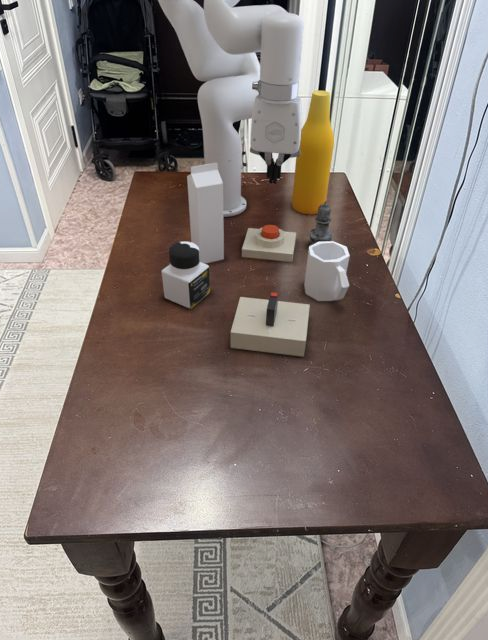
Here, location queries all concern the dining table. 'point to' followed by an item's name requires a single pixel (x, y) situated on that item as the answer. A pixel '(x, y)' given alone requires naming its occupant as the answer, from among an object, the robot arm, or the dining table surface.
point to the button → (270, 231)
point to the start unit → (269, 245)
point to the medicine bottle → (185, 275)
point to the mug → (327, 271)
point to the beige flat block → (270, 327)
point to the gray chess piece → (321, 225)
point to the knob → (272, 309)
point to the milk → (206, 211)
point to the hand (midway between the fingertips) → (273, 180)
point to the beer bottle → (314, 157)
